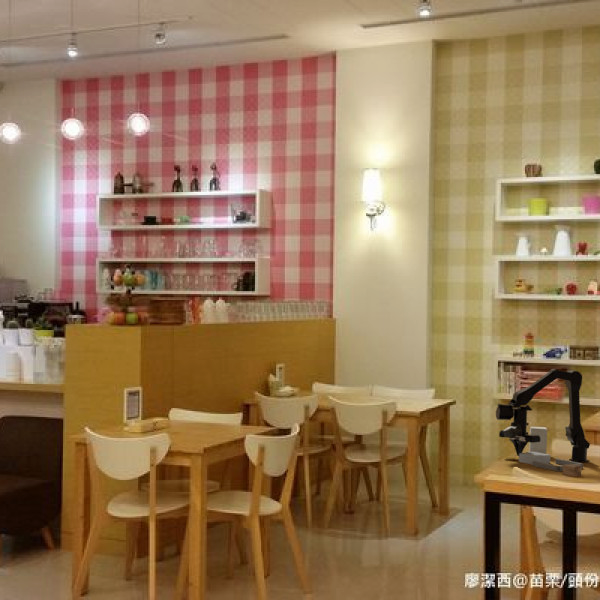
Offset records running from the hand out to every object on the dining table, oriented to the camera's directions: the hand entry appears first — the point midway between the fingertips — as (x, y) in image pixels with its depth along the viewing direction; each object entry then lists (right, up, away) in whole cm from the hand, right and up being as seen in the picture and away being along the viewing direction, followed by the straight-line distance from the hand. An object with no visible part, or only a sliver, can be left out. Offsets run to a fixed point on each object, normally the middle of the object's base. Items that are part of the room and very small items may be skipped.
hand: (518, 455), depth 397 cm
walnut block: (+13, -2, -33) cm, 36 cm away
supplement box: (+12, -2, +13) cm, 17 cm away
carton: (+5, -2, -7) cm, 9 cm away
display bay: (+12, -2, -16) cm, 20 cm away
